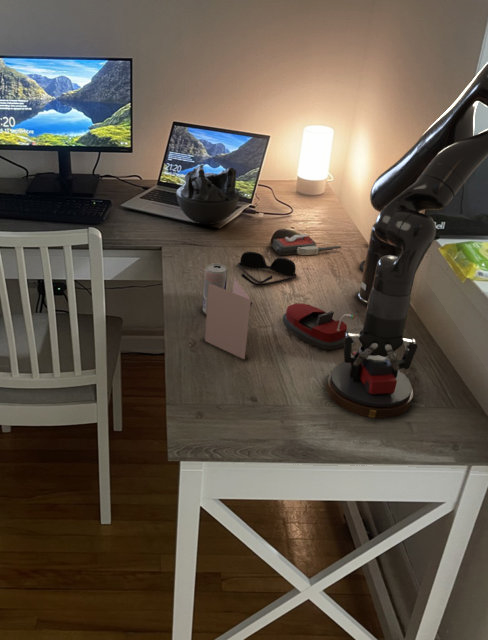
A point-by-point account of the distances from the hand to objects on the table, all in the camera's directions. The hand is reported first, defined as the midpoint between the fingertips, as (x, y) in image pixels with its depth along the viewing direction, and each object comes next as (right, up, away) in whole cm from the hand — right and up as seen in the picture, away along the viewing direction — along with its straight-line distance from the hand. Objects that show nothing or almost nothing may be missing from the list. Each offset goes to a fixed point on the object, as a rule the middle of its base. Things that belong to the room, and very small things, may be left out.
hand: (371, 380), depth 139 cm
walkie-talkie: (+1, +35, +64) cm, 73 cm away
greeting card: (-28, +6, +16) cm, 33 cm away
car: (0, -1, +1) cm, 1 cm away
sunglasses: (-15, +25, +47) cm, 55 cm away
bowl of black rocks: (-27, +47, +83) cm, 99 cm away
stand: (0, -3, +2) cm, 3 cm away
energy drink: (-30, +15, +31) cm, 46 cm away
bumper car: (-6, +9, +22) cm, 25 cm away
